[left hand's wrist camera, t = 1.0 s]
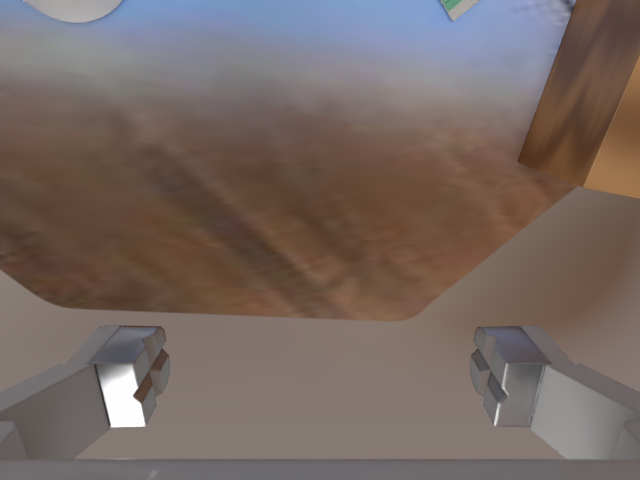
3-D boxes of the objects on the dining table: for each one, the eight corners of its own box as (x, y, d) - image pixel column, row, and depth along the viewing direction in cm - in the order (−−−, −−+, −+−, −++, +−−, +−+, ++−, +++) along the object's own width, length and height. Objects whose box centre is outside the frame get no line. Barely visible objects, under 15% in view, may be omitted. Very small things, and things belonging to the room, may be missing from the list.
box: (567, 171, 48) (647, 200, 36) (517, 161, 48) (582, 187, 36) (676, -96, 39) (832, -174, 27) (616, -111, 38) (748, -197, 27)
